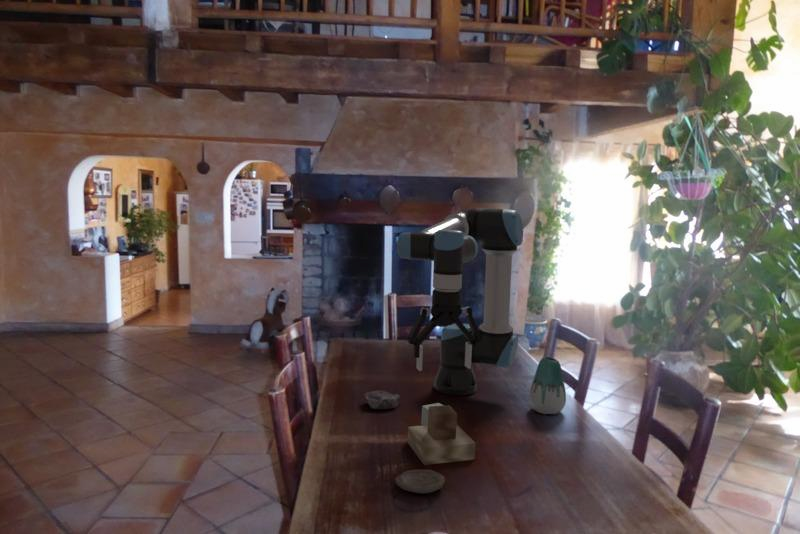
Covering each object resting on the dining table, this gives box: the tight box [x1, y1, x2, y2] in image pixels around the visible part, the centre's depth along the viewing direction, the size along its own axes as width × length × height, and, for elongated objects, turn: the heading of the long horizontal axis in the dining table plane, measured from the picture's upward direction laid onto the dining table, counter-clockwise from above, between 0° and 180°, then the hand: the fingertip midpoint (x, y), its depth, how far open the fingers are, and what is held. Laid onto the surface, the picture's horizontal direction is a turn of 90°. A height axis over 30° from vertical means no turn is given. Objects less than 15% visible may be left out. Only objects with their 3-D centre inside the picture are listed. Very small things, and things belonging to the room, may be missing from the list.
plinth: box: [406, 423, 476, 466], centre depth 156 cm, size 14×14×5 cm
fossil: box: [395, 469, 446, 494], centre depth 136 cm, size 10×12×3 cm
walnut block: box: [428, 405, 458, 440], centre depth 155 cm, size 6×6×7 cm
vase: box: [528, 356, 567, 415], centre depth 188 cm, size 12×12×18 cm
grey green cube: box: [420, 402, 444, 426], centre depth 172 cm, size 6×6×6 cm
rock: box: [364, 389, 400, 410], centre depth 188 cm, size 8×11×5 cm
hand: (443, 368), depth 154 cm, fingers open, 13 cm apart
